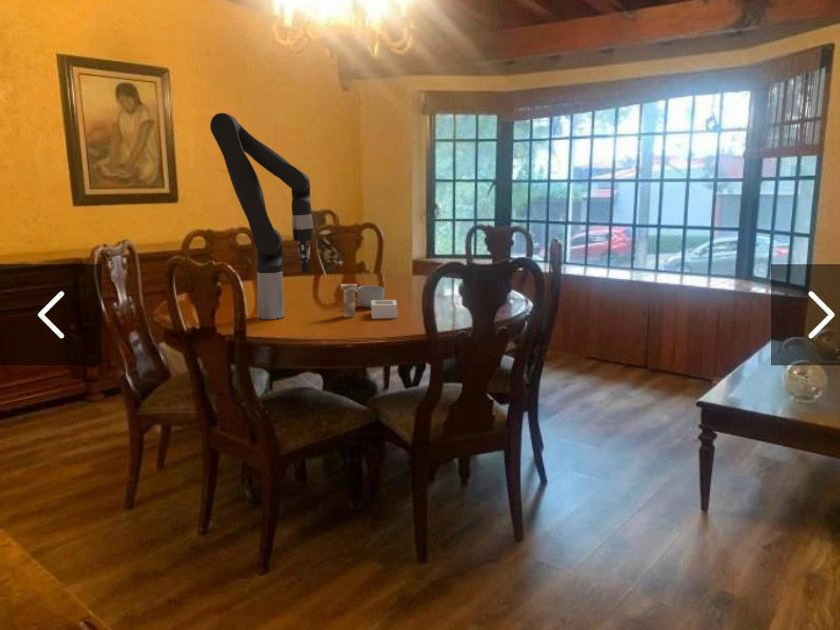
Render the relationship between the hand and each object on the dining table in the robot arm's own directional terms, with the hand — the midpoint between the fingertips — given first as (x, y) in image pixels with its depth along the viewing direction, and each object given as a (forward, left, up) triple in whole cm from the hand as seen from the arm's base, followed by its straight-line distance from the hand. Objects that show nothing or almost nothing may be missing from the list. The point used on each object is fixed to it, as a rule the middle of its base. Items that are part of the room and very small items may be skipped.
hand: (306, 271), depth 249 cm
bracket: (+16, -1, -17) cm, 23 cm away
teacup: (+23, +18, -17) cm, 34 cm away
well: (+29, -1, -17) cm, 33 cm away
